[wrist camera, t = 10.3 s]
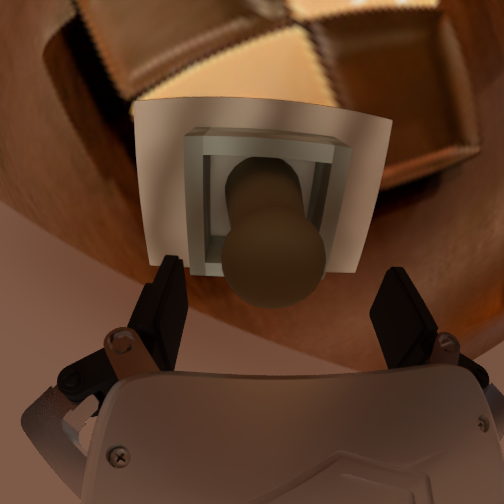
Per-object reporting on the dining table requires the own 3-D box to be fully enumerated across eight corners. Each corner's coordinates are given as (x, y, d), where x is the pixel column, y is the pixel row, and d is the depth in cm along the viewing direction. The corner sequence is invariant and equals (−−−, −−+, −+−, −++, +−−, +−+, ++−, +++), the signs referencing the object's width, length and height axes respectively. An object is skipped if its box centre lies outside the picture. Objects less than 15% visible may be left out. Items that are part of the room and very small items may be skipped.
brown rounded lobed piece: (261, 238, 24) (272, 341, 15) (208, 192, 21) (182, 282, 12) (315, 192, 22) (364, 278, 12) (264, 138, 19) (283, 190, 10)
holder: (387, 118, 19) (418, 129, 15) (352, 266, 27) (368, 299, 23) (138, 100, 18) (111, 106, 14) (152, 259, 26) (138, 293, 22)
